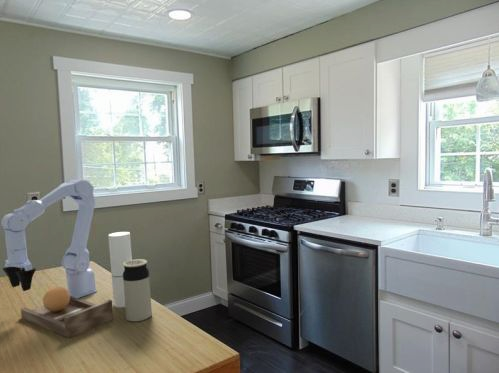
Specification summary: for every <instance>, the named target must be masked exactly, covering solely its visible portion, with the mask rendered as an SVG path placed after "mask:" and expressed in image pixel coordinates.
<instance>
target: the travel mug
mask: <svg viewBox="0 0 499 373" xmlns="http://www.w3.org/2000/svg"><path fill="white" fill-rule="evenodd" d="M147 263H148V260H146V259H143V258H139V259H138V258H136V259H132V260H130V261H126V262H124V263H123V266H124V268H125V270H124V272H123V283H124V296H125V307H124V309H125V318H126V320H127V321H129V322H142V321H145V320H148V318H151V316H152V314H153V312H152V309H153V308H152V297H151V296H152V295H151V284H150V283H151V282H150V281H151V280H150V270H149V269H148V267H147Z"/></svg>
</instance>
